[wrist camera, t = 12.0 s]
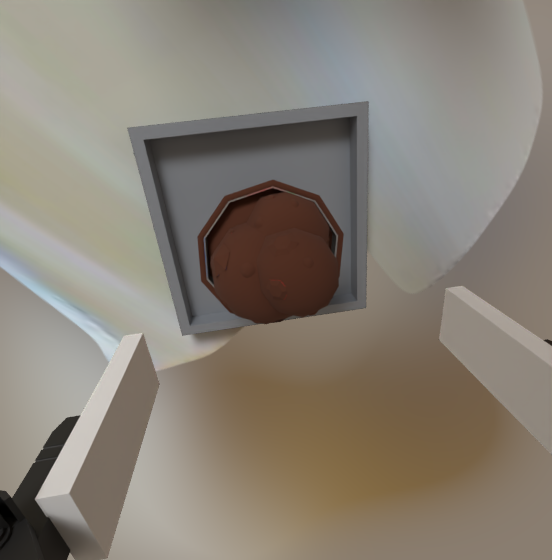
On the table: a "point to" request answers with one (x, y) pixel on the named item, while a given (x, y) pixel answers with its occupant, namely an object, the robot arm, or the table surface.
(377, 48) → the table surface
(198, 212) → the tray
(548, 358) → the robot arm
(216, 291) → the ice cream bowl
